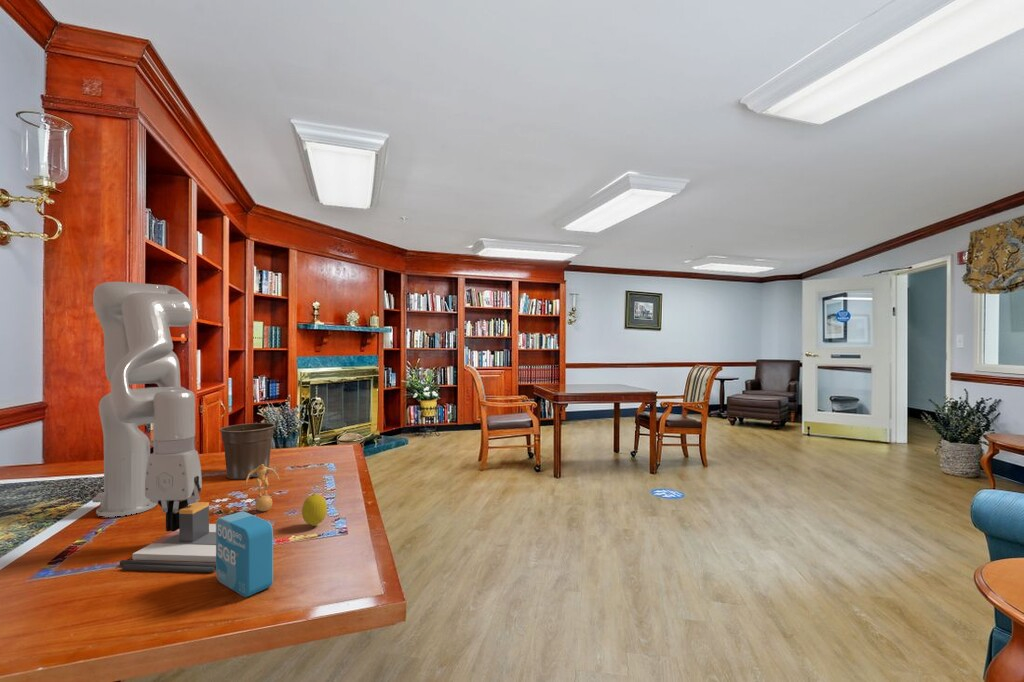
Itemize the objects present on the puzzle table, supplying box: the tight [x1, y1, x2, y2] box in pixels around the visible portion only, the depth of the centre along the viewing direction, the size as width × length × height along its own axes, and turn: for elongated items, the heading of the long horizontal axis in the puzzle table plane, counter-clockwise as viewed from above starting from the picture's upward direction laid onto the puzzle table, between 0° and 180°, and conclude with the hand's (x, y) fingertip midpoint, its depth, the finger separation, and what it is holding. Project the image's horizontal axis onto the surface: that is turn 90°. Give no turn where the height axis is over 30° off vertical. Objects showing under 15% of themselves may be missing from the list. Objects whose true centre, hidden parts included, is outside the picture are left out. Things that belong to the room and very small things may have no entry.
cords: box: [119, 559, 216, 574], centre depth 93 cm, size 20×3×1 cm, turn 86°
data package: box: [215, 510, 274, 598], centre depth 87 cm, size 12×4×12 cm, turn 55°
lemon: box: [301, 492, 328, 527], centre depth 114 cm, size 6×6×8 cm
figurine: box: [244, 464, 280, 512], centre depth 125 cm, size 8×6×12 cm
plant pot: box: [219, 422, 276, 481], centre depth 158 cm, size 16×16×16 cm
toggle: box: [178, 501, 210, 542], centre depth 104 cm, size 3×5×7 cm, turn 176°
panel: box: [132, 523, 216, 563], centre depth 104 cm, size 20×16×1 cm
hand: (175, 528), depth 105 cm, fingers closed
